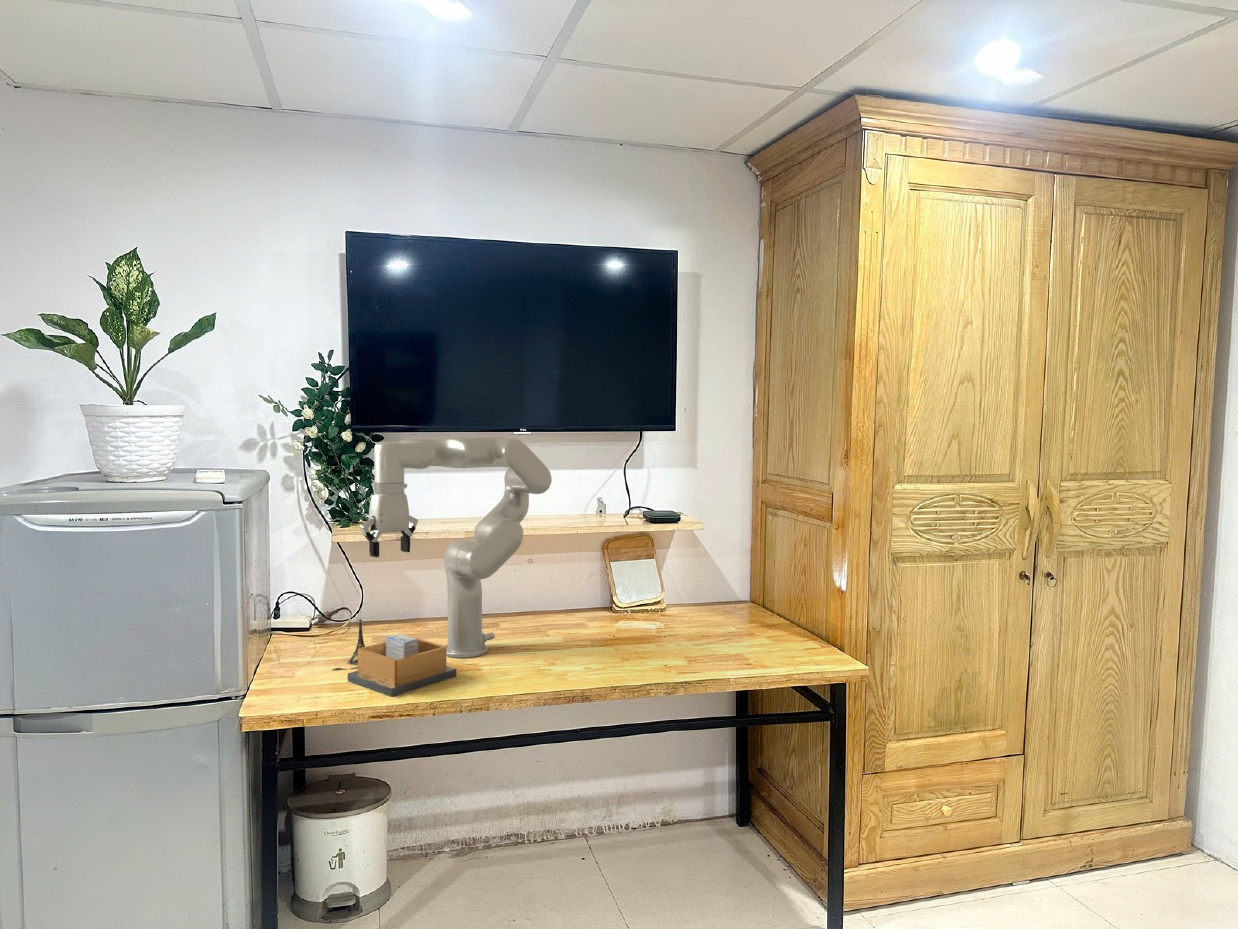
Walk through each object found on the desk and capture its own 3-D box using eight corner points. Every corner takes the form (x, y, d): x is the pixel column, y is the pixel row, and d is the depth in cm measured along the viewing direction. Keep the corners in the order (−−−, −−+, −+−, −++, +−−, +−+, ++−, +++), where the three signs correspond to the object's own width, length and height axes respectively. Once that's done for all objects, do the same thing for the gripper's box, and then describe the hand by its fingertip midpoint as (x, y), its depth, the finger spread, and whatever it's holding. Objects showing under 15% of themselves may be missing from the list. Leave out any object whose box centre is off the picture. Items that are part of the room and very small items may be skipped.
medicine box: (419, 672, 217) (418, 638, 216) (404, 676, 214) (404, 642, 213) (400, 666, 222) (399, 633, 221) (385, 670, 219) (385, 636, 218)
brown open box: (412, 662, 232) (411, 633, 231) (456, 676, 220) (456, 645, 220) (347, 681, 216) (347, 650, 215) (391, 696, 205) (391, 664, 204)
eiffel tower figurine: (331, 673, 224) (330, 622, 223) (330, 662, 234) (329, 613, 233) (390, 667, 229) (389, 618, 228) (387, 657, 239) (386, 609, 238)
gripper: (407, 486, 233) (408, 548, 234) (352, 490, 220) (353, 556, 221) (425, 487, 229) (425, 551, 230) (369, 492, 215) (370, 560, 216)
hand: (390, 554), depth 225 cm, fingers open, 9 cm apart
